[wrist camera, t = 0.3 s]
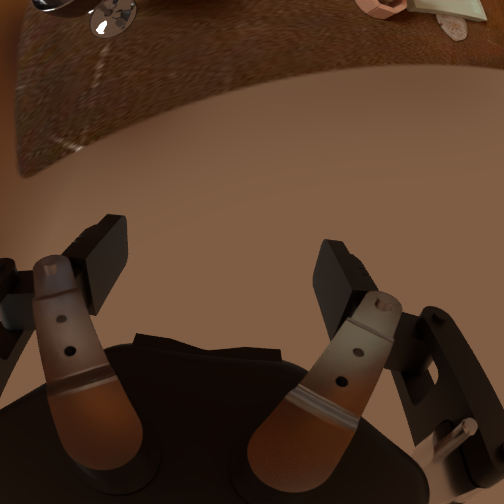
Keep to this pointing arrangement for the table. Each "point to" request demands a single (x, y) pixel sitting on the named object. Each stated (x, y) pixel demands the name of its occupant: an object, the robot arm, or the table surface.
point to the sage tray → (449, 8)
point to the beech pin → (385, 1)
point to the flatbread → (453, 26)
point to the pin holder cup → (381, 8)
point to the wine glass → (103, 17)
